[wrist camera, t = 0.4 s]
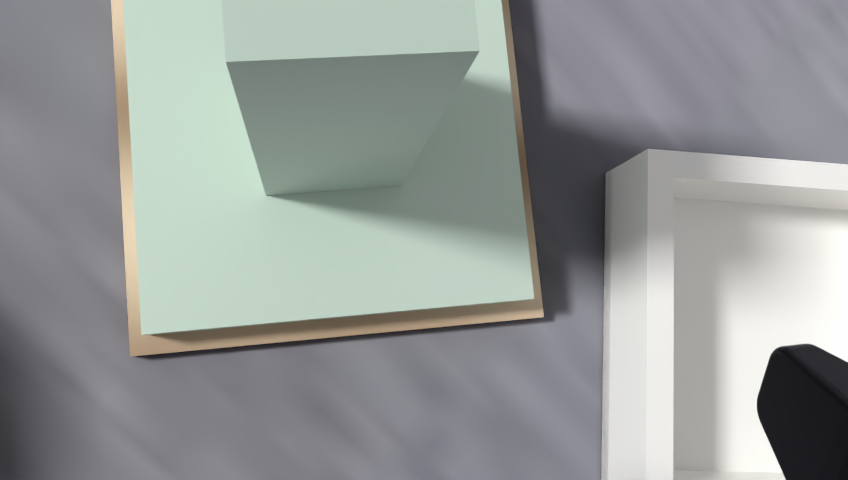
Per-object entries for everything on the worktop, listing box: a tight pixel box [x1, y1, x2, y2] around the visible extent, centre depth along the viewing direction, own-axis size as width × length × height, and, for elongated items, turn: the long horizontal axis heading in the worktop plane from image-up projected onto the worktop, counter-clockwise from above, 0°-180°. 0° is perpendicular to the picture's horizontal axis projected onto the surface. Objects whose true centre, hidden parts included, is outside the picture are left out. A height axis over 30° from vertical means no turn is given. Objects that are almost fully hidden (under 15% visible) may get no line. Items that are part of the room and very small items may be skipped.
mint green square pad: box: [111, 0, 544, 357], centre depth 22 cm, size 11×11×1 cm
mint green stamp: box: [123, 0, 534, 335], centre depth 17 cm, size 10×10×11 cm
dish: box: [601, 149, 848, 480], centre depth 22 cm, size 9×9×3 cm
